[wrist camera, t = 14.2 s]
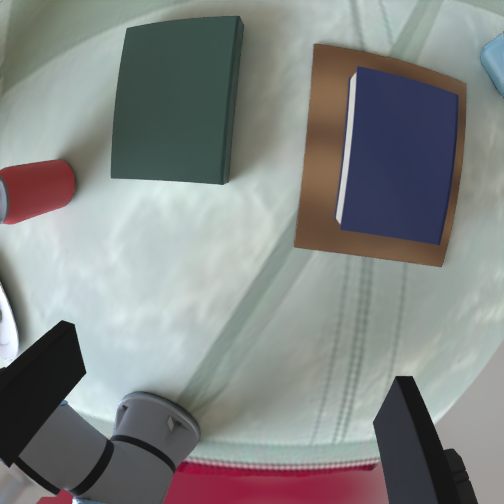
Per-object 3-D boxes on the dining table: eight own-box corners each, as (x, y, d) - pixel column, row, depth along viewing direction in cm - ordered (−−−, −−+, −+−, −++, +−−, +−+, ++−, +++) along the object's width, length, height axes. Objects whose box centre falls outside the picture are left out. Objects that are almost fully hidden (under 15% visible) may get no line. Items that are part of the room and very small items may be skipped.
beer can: (68, 150, 32) (-1, 157, 21) (84, 194, 34) (16, 214, 22) (41, 173, 34) (-23, 187, 22) (55, 214, 35) (-8, 238, 24)
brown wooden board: (440, 265, 30) (442, 267, 30) (293, 246, 32) (293, 247, 32) (464, 84, 23) (466, 83, 23) (313, 45, 25) (313, 43, 25)
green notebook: (228, 182, 31) (223, 184, 29) (122, 176, 32) (110, 178, 30) (243, 25, 25) (240, 15, 23) (136, 34, 26) (126, 28, 24)
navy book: (423, 233, 29) (440, 245, 25) (333, 219, 30) (339, 229, 26) (439, 101, 24) (459, 95, 20) (348, 77, 25) (357, 65, 21)
